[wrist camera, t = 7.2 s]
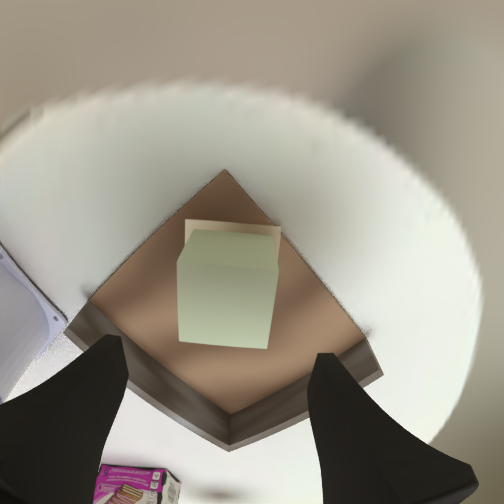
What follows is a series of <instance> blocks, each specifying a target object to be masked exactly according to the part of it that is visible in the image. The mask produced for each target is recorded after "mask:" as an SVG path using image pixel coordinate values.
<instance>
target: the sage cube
mask: <svg viewBox="0 0 504 504" xmlns="http://www.w3.org/2000/svg"><path fill="white" fill-rule="evenodd" d="M278 275H279V267H278V262H277V257H276V252H275V247H274V242H273V237H272V235H260V234H249V233H238V232H226V231H214V230H202V229H193V231H192V233H191V235H190V237H189V239H188V241H187V243H186V244H185V246H184V248H183V250H182V252H181V254H180V256H179V258H178V260H177V305H178V330H179V341H182V342H190V343H200V344H209V345H220V346H232V347H245V348H260V349H267V345H268V339H269V333H270V327H271V320H272V314H273V308H274V301H275V295H276V288H277V282H278Z"/></svg>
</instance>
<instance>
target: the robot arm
mask: <svg viewBox="0 0 504 504" xmlns="http://www.w3.org/2000/svg"><path fill="white" fill-rule="evenodd" d="M66 325H67V321H66V319H65V318H64V317H63V316H62V315H61V314H60V313H59V312H58V311H57V310H56V309H55V308H54V307H53V306H52V304H51V303H50V302H49V301H48V300H47V299H46V298H45V297H44V296H43V295H42V294H41V293H40V292H39V291H38V290H37V288H36V287H35V286H34V285H33V284H32V283H31V282H30V281H29V279H28V278H27V277H26V276H25V275H24V274H23V272H22V271H21V270H20V269H19V268H18V266H17V265H16V264H15V263H14V262H13V260H12V259H11V258H10V257H9V255H8V254H7V253H6V252H5V250H4V249H3V248H2V246H1V245H0V504H93V501H94V493H95V486H96V480H97V475H98V470H99V465H100V461H101V456H102V452H103V449H104V445H105V442H106V440H107V437H108V434H109V432H110V429H111V427H112V424H113V422H114V419H115V417H116V414H117V412H118V409H119V407H120V404H121V402H122V399H123V397H124V393H125V389H126V386H127V382H128V378H129V372H128V367H127V363H126V358H125V354H124V349H123V344H122V339H121V336H117V335H111V334H106V335H104V336H103V337H102V338H101V339H99V340H98V341H97V342H96V343H94V344H93V345H92V346H91V347H90V348H88V349H87V350H86V351H85V352H84V353H82V354H81V355H80V356H79V357H77V358H76V359H75V360H74V361H72V362H71V363H70V364H69V365H67V366H66V367H64V368H63V369H62V370H60V371H59V372H58V373H56V374H55V375H53V376H52V377H51V378H49V379H48V380H46V381H45V382H43V383H42V384H40V385H38V386H37V387H35V388H33V389H31V390H30V391H28V392H26V393H24V394H22V395H20V396H18V397H16V398H14V399H12V400H9V401H7V402H5V403H4V401H5V400H6V398H7V397H8V395H9V394H10V392H11V391H12V389H13V388H14V386H15V385H16V383H17V382H18V380H19V379H20V377H21V376H22V374H23V373H24V372H25V370H26V369H27V367H28V366H29V365H30V363H31V362H32V360H33V359H36V360H37V359H38V358H39V357H40V356H41V354H42V353H43V352H44V351H45V350H46V348H47V347H48V346H49V345H50V344H51V343H52V341H53V340H54V339H55V338H56V337H57V335H58V334H59V333H60V332H61V331H62V330H63V329H64V327H65V326H66ZM307 401H308V411H309V417H310V422H311V426H312V431H313V435H314V439H315V444H316V448H317V453H318V457H319V462H320V468H321V477H322V489H323V504H459V503H461V502H462V501H463V500H465V499H466V498H467V497H469V496H470V495H471V494H472V493H473V492H474V491H475V490H476V489H477V488H478V485H479V483H478V480H477V478H476V476H475V474H474V471H473V469H472V467H471V466H470V465H469V464H467V463H464V462H462V461H459V460H457V459H455V458H452V457H450V456H448V455H446V454H444V453H442V452H440V451H438V450H436V449H435V448H433V447H431V446H429V445H428V444H426V443H425V442H423V441H421V440H420V439H419V438H417V437H416V436H414V435H413V434H411V433H410V432H408V431H407V430H406V429H404V428H403V427H402V426H401V425H400V424H398V423H397V422H396V421H395V420H394V419H392V418H391V417H390V416H389V415H388V414H387V413H386V412H385V411H384V410H383V409H382V408H381V407H380V406H379V405H378V404H377V403H376V402H375V401H374V400H373V399H372V398H371V397H370V396H369V395H368V394H367V393H366V392H365V391H364V389H363V388H362V387H361V386H360V385H359V384H358V382H357V381H356V380H355V379H354V378H353V376H352V375H351V374H350V373H349V372H348V370H347V369H346V368H345V367H344V365H343V364H342V363H341V362H340V360H339V359H338V358H337V357H336V355H335V354H334V353H317V357H316V360H315V364H314V367H313V371H312V374H311V377H310V381H309V384H308V387H307Z"/></svg>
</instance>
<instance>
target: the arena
mask: <svg viewBox="0 0 504 504" xmlns="http://www.w3.org/2000/svg"><path fill="white" fill-rule="evenodd" d="M193 229H202V230H214V231H226V232H238V233H249V234H260V235H272V237H273V242H274V247H275V252H276V257H277V262H278V267H279V275H278V282H277V288H276V295H275V301H274V308H273V314H272V320H271V327H270V333H269V339H268V345H267V349H260V348H245V347H232V346H220V345H209V344H200V343H190V342H182V341H179V330H178V305H177V260H178V258H179V256H180V254H181V252H182V250H183V248H184V246H185V244H186V243H187V241H188V239H189V237H190V235H191V233H192V231H193ZM281 230H282V226H274V225H273V224H272V222H271V221H270V220H269V219H268V218H267V217H266V215H265V214H264V213H263V212H262V211H261V210H260V208H259V207H258V206H257V205H256V204H255V203H254V201H253V200H252V199H251V198H250V197H249V196H248V195H247V193H246V192H245V191H244V190H243V189H242V188H241V187H240V185H239V184H238V183H237V182H236V181H235V180H234V179H233V177H232V176H231V175H230V174H229V173H228V172H227V171H226V170H224V171H222V172H221V173H220V174H219V175H218V176H217V177H215V178H214V179H213V180H212V181H211V182H210V183H209V184H207V185H206V186H205V187H204V188H203V189H202V190H201V191H200V192H198V193H197V194H196V195H195V196H194V197H193V198H192V199H191V200H189V201H188V202H187V203H186V204H185V205H184V206H183V207H182V208H181V209H180V210H178V211H177V212H176V213H175V214H174V215H173V216H172V217H171V218H170V219H169V220H168V221H167V222H166V223H164V224H163V225H162V226H161V227H160V228H159V229H158V230H157V231H156V232H155V233H154V234H153V235H152V236H151V237H150V238H149V239H148V240H147V241H146V242H145V243H144V244H143V245H142V246H141V247H140V248H139V249H137V250H136V251H135V252H134V253H133V254H132V255H131V256H130V257H129V258H128V259H127V260H126V261H125V262H124V263H123V265H122V266H121V267H120V268H119V269H118V270H117V271H116V272H115V273H114V274H113V275H112V276H111V277H110V278H109V279H108V280H107V281H106V282H105V283H104V284H103V285H102V286H101V287H100V288H99V289H98V290H97V292H96V293H95V294H94V295H93V296H92V297H91V298H90V299H89V300H88V301H87V302H86V304H85V305H84V306H83V308H82V309H81V310H80V311H79V313H78V314H77V315H76V316H75V318H74V319H73V320H72V322H71V323H70V324H69V326H68V327H67V328H66V330H65V331H64V332H63V333H64V334H65V335H66V336H67V337H68V338H69V339H70V340H71V341H72V342H73V343H74V344H75V345H77V346H78V347H79V348H80V349H81V350H82V351H83V352H85V351H86V350H87V349H88V348H90V347H91V346H92V345H93V344H94V343H96V342H97V341H98V340H99V339H101V338H102V337H103V336H104V335H106V334H111V335H117V336H121V339H122V344H123V349H124V354H125V358H126V363H127V367H128V372H129V378H128V382H127V386H126V387H127V388H129V389H130V390H131V391H133V392H134V393H135V394H137V395H138V396H139V397H141V398H142V399H143V400H145V401H146V402H148V403H149V404H151V405H152V406H153V407H155V408H156V409H158V410H159V411H161V412H162V413H164V414H165V415H167V416H168V417H170V418H171V419H173V420H174V421H176V422H178V423H179V424H181V425H182V426H184V427H186V428H187V429H189V430H191V431H192V432H194V433H196V434H197V435H199V436H201V437H202V438H204V439H206V440H208V441H209V442H211V443H213V444H215V445H216V446H218V447H220V448H222V449H224V450H226V451H228V452H230V451H233V450H235V449H238V448H241V447H243V446H246V445H249V444H251V443H254V442H256V441H258V440H261V439H263V438H266V437H268V436H270V435H273V434H275V433H277V432H279V431H282V430H284V429H286V428H288V427H290V426H293V425H295V424H297V423H299V422H301V421H303V420H305V419H307V418H309V411H308V401H307V387H308V384H309V381H310V377H311V374H312V371H313V367H314V364H315V360H316V357H317V353H334V354H335V355H336V357H337V358H338V359H339V360H340V362H341V363H342V364H343V365H344V367H345V368H346V369H347V370H348V372H349V373H350V374H351V375H352V376H353V378H354V379H355V380H356V381H357V382H358V384H359V385H360V386H361V387H362V388H364V387H365V386H367V385H369V384H370V383H372V382H373V381H375V380H377V379H378V378H380V377H381V376H383V375H384V374H383V372H382V370H381V367H380V365H379V363H378V361H377V359H376V357H375V355H374V353H373V350H372V348H371V346H370V344H369V342H368V340H367V338H366V337H365V336H364V335H363V333H362V332H361V331H360V330H359V328H358V327H357V326H356V325H355V323H354V322H353V321H352V319H351V318H350V317H349V316H348V314H347V313H346V312H345V311H344V309H343V308H342V307H341V306H340V304H339V303H338V302H337V301H336V300H335V298H334V297H333V296H332V295H331V293H330V292H329V291H328V290H327V288H326V287H325V286H324V285H323V284H322V282H321V281H320V280H319V279H318V277H317V276H316V275H315V274H314V273H313V271H312V270H311V269H310V268H309V266H308V265H307V264H306V263H305V262H304V260H303V259H302V258H301V257H300V256H299V254H298V253H297V252H296V251H295V250H294V248H293V247H292V246H291V245H290V244H289V243H288V241H287V240H286V239H285V238H284V237H283V235H282V234H281Z"/></svg>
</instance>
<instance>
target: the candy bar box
mask: <svg viewBox="0 0 504 504" xmlns="http://www.w3.org/2000/svg"><path fill="white" fill-rule="evenodd" d="M180 486H181V483H180V482H179V481H178V480H177V479H176V478H175V477H174V476H173V475H172V474H171V473H170V472H169V471H167V470H166V469H146V468H132V467H121V466H112V465H104V464H101V466H100V469H99V472H98V475H97V480H96V486H95V493H94V501H93V504H178V499H179V493H180Z"/></svg>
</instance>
